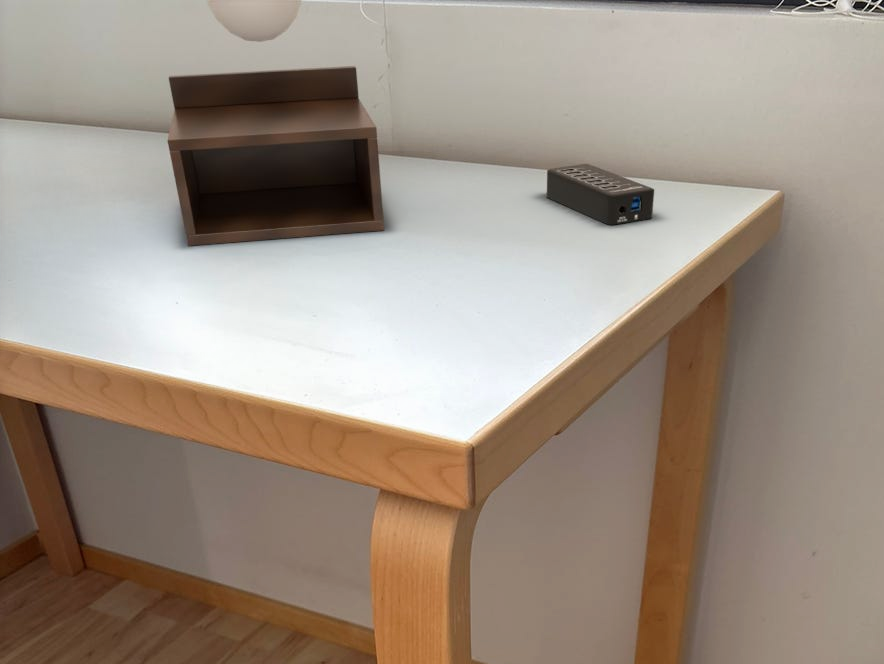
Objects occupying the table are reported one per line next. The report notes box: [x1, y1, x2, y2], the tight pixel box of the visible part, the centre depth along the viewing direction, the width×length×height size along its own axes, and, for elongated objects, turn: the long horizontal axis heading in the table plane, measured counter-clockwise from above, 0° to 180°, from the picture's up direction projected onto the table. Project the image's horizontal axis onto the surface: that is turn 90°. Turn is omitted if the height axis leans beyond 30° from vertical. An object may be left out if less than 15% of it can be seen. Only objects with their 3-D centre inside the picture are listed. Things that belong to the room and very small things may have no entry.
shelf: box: [166, 65, 385, 247], centre depth 83 cm, size 16×14×10 cm
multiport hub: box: [546, 163, 655, 226], centre depth 86 cm, size 4×11×2 cm, turn 27°
